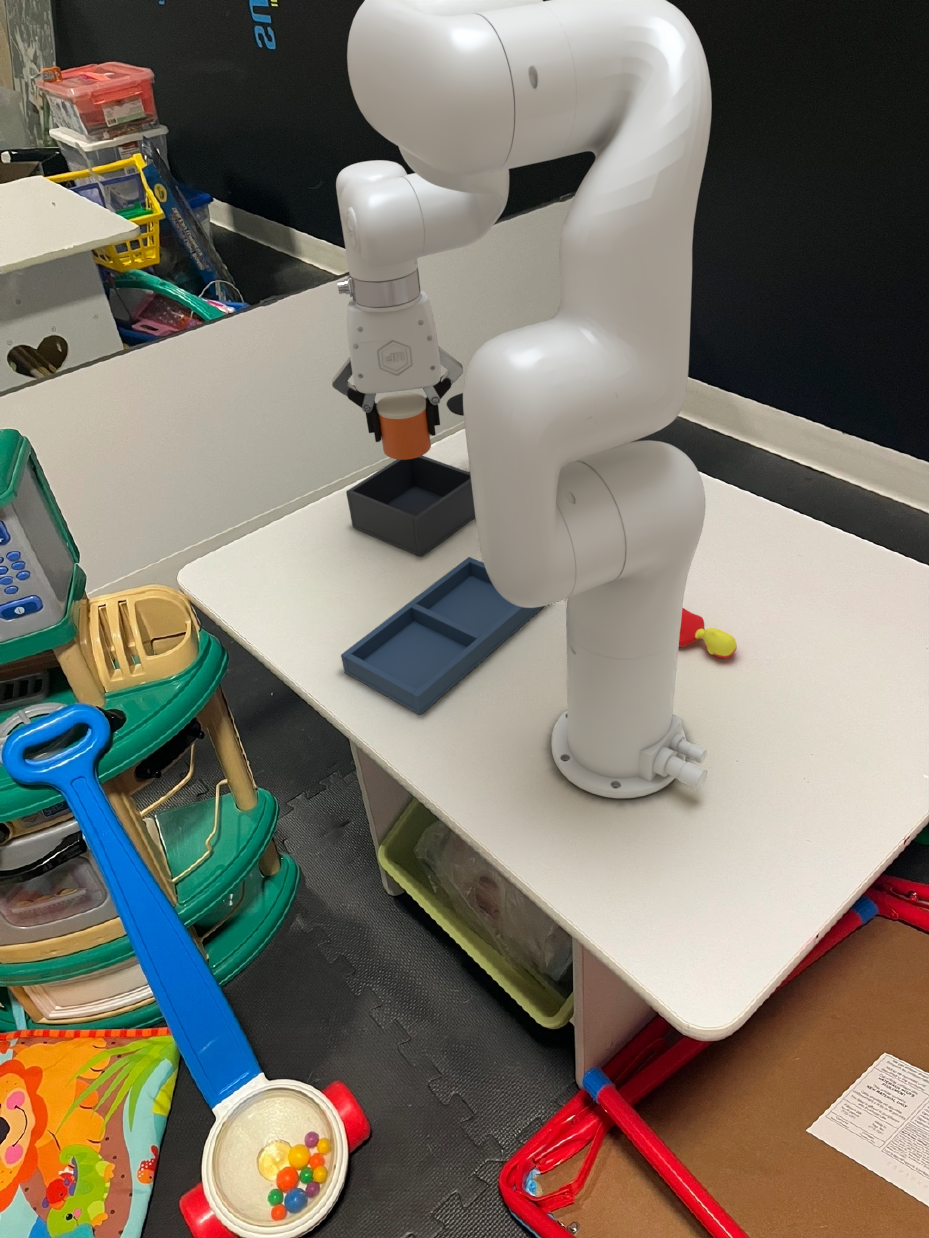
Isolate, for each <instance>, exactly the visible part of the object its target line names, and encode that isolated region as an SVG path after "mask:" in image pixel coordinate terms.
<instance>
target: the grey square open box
mask: <svg viewBox="0 0 929 1238" xmlns="http://www.w3.org/2000/svg"><path fill="white" fill-rule="evenodd" d="M345 493H346V498H347V504H348V509H349V510H348V511H349V515H350V520H351V525H352V528H353V529H355V530H358V531H359V532H362V533H364V534H367V535H369V536H371V537H373V538H376V539H378V540H380V541H383V542H385V543H387V544H390V545H392V546H394V547H397V548H399V549H401V550H403V551H405V552H408V553H410V554H413V555H415V556H417V557H419V558H422V557H424V556H425V555H426V554H428V553H429V552H430V551H432V550H433V549H434V548H436V547H438V546H439V545H440V544H442V543H443V542H444V541H446V540H447V539H449V538H450V537H451V536H452V535H454V534H456V533H457V532H458V531H459V530H461V529H462V528H463V527H464V526H466V525H467V524H469V523H470V522H471V521H473V520H474V519H476V518H475V510H474V501H473V492H472V484H471V475H470V471H467V470H465V469H461V468H459V467H456V466H453V465H450V464H447V463H444V462H442V461H440V460H436V459H433V458H430V457H428V456H425V455H422V456H420V457H417V458H413V459H407V460H399V459H394V460H393V461H392V462H391V463H389V464H387V465H385V466H384V467H382V468H381V469H379V470H377V471H376V472H374V473H373V474H371V475H370V476H368V477H366V478H365V479H363V480H362V481H360V482H358V483H357V484H355V485H353V486H352V487H350V488H349V489H347V490H346V491H345Z"/></svg>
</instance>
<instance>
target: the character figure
mask: <svg viewBox="0 0 929 1238" xmlns="http://www.w3.org/2000/svg"><path fill="white" fill-rule="evenodd" d="M699 640H703V642H704V644H705V646H706V650H707V652H708V653H709V654H710V655H713V656H715V657H717V658H720V659H728V658H730V657H732V656H733V655H734V654H735V652H736V651H737V648H738V644H737V641H736V638H735V637H734V636H733V635H732V634H730V633H728V632H727V631H723V630H722V629H720V628H717V627H707V628H705V621H704V618H703V617H702V616H700V615H698V614H695V613H693V612H691V611H689V610H687V609H686V608H684V606H683V607H682V618H681V628H680V637H679V647H681V648H683V647H687V646H689V645H691V644H693V643H694V642H697V641H699Z"/></svg>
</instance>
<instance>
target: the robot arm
mask: <svg viewBox="0 0 929 1238" xmlns="http://www.w3.org/2000/svg"><path fill="white" fill-rule="evenodd" d="M346 50H347V52H346V59H347V60H346V63H347V72H348V78H349V84H350V87H351V91H352V94H353V97H354V100H355V103H356V104H357V107H358V109H359V111H360V113H361V114H362V115H363V117H364V119H365V120H366V121H367V122H368V124H369V125H370V126H371V127H372V128H373V130H375V131H376V132H377V133H379V134H380V135H381V136H383V138H385V139H387V140H388V141H389V142H390V143H392V144H394V145H395V146H398V149H399V151H400V154H401V156H402V158H403V160H404V162H405V163H406V164H407V165H408V167H409V168H410V169H411V170H412V171H413V172H414V173H410V174H408V173H407V171H406V170H405V168H404V167H403V165H401V164H399V163H398V162H396V161H390V160H383V159H382V160H381V159H380V160H378V159H376V160H366V161H360V162H356V163H353V164H350V165H348V166H346V167H344V168H343V169H341V171H340V172H339V173H338V175H337V177H336V181H335V189H336V196H337V205H338V210H339V216H340V222H341V228H342V229H341V230H342V235H343V242H344V249H345V254H346V260H347V267H348V273H349V275H347V278H344V279H343V280H338V281H337V289H338V294H339V295H341V294H345V295H349V297H350V299H349V302H348V304H347V311H346V312H347V313H346V325H347V340H348V350H349V357H348V358H347V360H346V361H345V362H344V364H343V365H342V366H341V367H340V369H339V370H338V371H337V372H336V374H335V375H334V376H333V378H332V380H331V381H332V384H331V385H332V386H331V387H332V388H333V389H335V390H336V391H337V392H339V393H340V394H341V395H343V396H345V397H347V399H348V400H349V401H350V402H352V403H353V404H355V405H357V406H358V407H359V408H360V409H361V410H362V412H363V413H365V418H366V424H367V430H368V434H373V435H374V441H375V443H380V442H382V438H381V431H380V425H379V418H378V412H377V408H376V405H377V403H378V402H376V396H377V394H384V393H393V392H395V393H396V392H401V391H404V392H405V391H411V390H412V391H413V390H419V389H422V390H423V392H424V393H425V395H426V397H425V396H424V397H425V399H426V403H427V405H426V407H427V415H428V424H429V432H430V436H431V437H434V436H437V434H436V426H437V427H438V426H441V419H440V418H441V417H440V409H439V404H440V403H441V400H442V398H443V397H444V396H445V395H446V394H447V393H448V391H449V390H450V389H451V388H452V385H453V384H454V383H455V382H456V381H457V380H458V379H459V378H460V377H461V376H462V375H463V374H464V367H463V364H462V363H461V362H460V361H458V360H457V359H456V358H454V357H453V356H452V355H451V354H450V353H448V352H447V351H445V350H444V349H443V348H442V347H441V346H439V342H438V335H437V329H436V323H435V318H434V314H433V310H432V305H431V303H430V300H429V296H428V294H427V293H426V292H425V291H424V290H422V289H421V282H420V272H419V262H418V259H419V258H422V257H427V256H431V255H434V254H440V253H444V252H448V251H453V250H456V249H460V248H465V247H468V246H470V245H473V244H474V243H476V242H478V241H480V240H481V239H482V238H483V237H485V236H486V235H487V233H489V231H491V229H492V228H493V227H494V224H495V223H496V222H497V221H498V219H499V218H500V217H501V215H502V214H503V212H504V210H505V209H506V206H507V202H508V198H509V192H510V169H515V168H520V167H524V166H529V165H533V164H538V163H543V162H547V161H552V160H557V159H559V158H563V157H568V156H571V155H576V154H579V153H585V152H592V153H593V154H594V156H595V158H594V161H593V163H592V164H591V166H590V168H589V170H588V171H587V173H586V174H585V176H584V177H583V179H582V181H581V183H580V184H579V186H578V187H577V190H576V192H575V194H574V196H573V198H572V201H571V204H570V207H569V209H568V212H567V214H566V216H565V218H564V222H563V225H562V229H561V232H560V236H559V244H558V245H559V247H558V248H559V249H558V260H559V261H558V262H559V271H560V272H559V274H560V275H559V276H560V301H559V306H558V309H557V311H556V312H555V314H554V315H553V316H552V317H550V318H549V319H546V320H542V321H538V322H534V323H532V324H528V325H525V326H521V327H518V328H514V329H511V330H508V331H505V332H502V333H500V334H498V335H496V336H494V337H492V338H490V339H488V340H487V341H485V342H484V343H483V344H482V345H481V346H480V347H478V349H477V350H476V352H475V353H474V354H473V356H472V357H471V359H470V361H469V364H468V365H467V368H466V372H465V376H464V380H463V389H462V393H463V411H464V416H463V423H464V433H465V440H466V450H467V456H468V466H469V472H470V475H471V484H472V492H473V501H474V510H475V518H474V519H475V525H476V531H477V540H478V544H479V550H480V554H481V555H480V556H481V558H482V561H483V563H484V565H485V568H486V571H487V574H488V576H489V578H490V580H491V582H492V584H493V586H494V587H495V589H496V590H497V591H498V593H499V594H500V595H501V596H502V597H503V598H504V599H505V600H507V601H508V602H510V603H512V604H514V605H516V606H520V607H524V608H535V607H541V606H544V607H546V606H548V605H552V604H554V603H558V602H560V601H564V600H566V609H565V618H566V620H565V622H566V623H565V629H566V630H565V634H566V635H565V636H566V637H565V638H566V639H565V640H566V644H565V645H566V703H567V704H566V705H567V706H566V710H564V712H563V713H562V714H560V716H559V717H558V719H557V720H556V722H555V724H554V726H553V728H552V733H551V754H552V758H553V760H554V763H555V765H556V767H557V768H558V770H559V771H560V773H561V774H562V775H563V776H564V777H565V778H566V779H567V780H568V781H569V782H570V783H572V784H574V785H575V786H576V787H578V788H580V789H581V790H584V791H586V792H588V793H590V794H594V795H597V796H600V797H604V798H611V799H634V798H640V797H645V796H647V795H651V794H654V793H656V792H658V791H661V790H662V789H664V788H665V787H667V786H668V785H670V784H671V783H672V782H673V781H674V780H675V779H676V780H678V781H679V783H682V784H684V785H686V786H688V787H690V788H692V789H694V790H696V791H699V790H700V789H701V788H702V787H703V785H704V784H705V782H706V779H707V776H708V770H707V769H704V768H702V767H701V766H698V765H696V764H694V763H692V762H690V761H686V757H687V758H688V759H690V760H692V761H694V762H696V763H698V764H703V763H704V761H705V760H706V757H707V754H708V749H706V748H704V747H702V746H700V745H697V744H696V743H691V742H689V741H687V738H686V734H685V730H684V729H683V723H684V719H682V718H681V717H679V716H677V715H674V704H675V703H674V702H675V692H676V682H677V680H676V679H677V669H678V658H679V647H680V646H679V637H680V628H681V618H682V607H683V608H684V605H683V604H684V600H685V599H684V597H685V592H686V585H687V580H688V577H689V572H690V569H691V566H692V562H693V560H694V557H695V554H696V550H697V548H698V545H699V542H700V540H701V537H702V533H703V528H704V523H705V519H706V518H705V517H706V492H705V487H704V483H703V480H702V476H701V474H700V472H699V470H698V468H697V466H696V464H695V463H694V462H693V461H692V460H691V458H690V457H689V455H687V454H686V453H685V452H683V450H681V449H679V448H678V447H677V446H674V445H672V444H670V443H667V442H663V441H658V440H640V439H642V438H643V439H644V438H645V437H648V436H650V435H653V434H655V433H656V432H659V431H662V429H664V428H666V427H667V426H669V425H671V423H673V422H674V421H675V420H676V419H677V417H678V416H679V415H680V413H681V411H682V409H683V407H684V404H685V401H686V395H687V390H688V380H689V369H690V368H689V366H690V344H691V343H690V342H691V340H690V339H691V314H692V312H691V311H692V285H693V241H694V240H693V239H694V228H695V227H694V226H695V219H696V213H697V205H698V199H699V193H700V189H701V183H702V179H703V173H704V168H705V165H706V164H705V163H706V158H707V153H708V146H709V141H710V134H711V125H712V108H713V107H712V106H713V105H712V104H713V103H712V87H711V86H712V85H711V78H710V77H711V76H710V71H709V67H708V62H707V58H706V54H705V51H704V48H703V45H702V43H701V40H700V37H699V35H698V34H697V32H696V30H695V28H694V26H693V25H692V23H691V22H690V20H689V18H687V17H686V15H685V14H684V13H683V11H681V10H680V9H679V8H678V7H677V6H675V5H674V4H672V3H671V2H669V1H668V0H545V1H544V0H364V1H363V3H362V4H361V5H360V6H359V8H358V9H357V11H356V13H355V16H354V17H353V20H352V22H351V26H350V30H349V34H348V40H347V49H346ZM441 366H442V367H443V368H445V369H446V371H445V373H444V374H442V371H441V370H442V367H441ZM351 377H352V379H353V383H354V384H351V383H350V382H349V380H350V379H351Z"/></svg>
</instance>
